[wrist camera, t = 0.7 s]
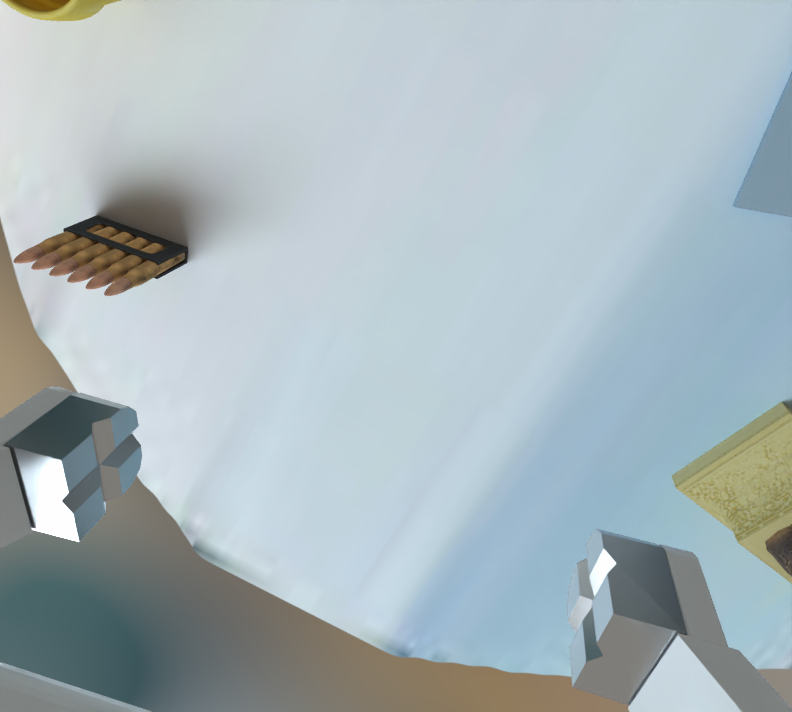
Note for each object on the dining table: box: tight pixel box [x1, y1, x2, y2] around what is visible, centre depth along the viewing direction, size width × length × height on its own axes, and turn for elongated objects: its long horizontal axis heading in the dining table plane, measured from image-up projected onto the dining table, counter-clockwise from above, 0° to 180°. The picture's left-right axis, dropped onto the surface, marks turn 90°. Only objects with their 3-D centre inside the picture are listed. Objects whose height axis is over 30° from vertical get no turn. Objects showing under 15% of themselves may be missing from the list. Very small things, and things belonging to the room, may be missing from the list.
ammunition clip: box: [14, 216, 188, 296], centre depth 54 cm, size 11×2×12 cm, turn 74°
